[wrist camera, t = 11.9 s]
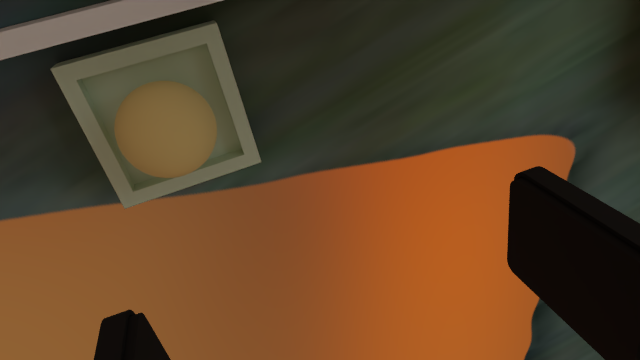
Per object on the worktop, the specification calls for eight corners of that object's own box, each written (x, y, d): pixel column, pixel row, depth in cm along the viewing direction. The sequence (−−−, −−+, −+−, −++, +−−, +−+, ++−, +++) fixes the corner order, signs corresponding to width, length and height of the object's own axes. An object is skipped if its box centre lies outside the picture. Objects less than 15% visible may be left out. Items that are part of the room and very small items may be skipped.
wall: (289, -46, 28) (312, -49, 24) (294, -26, 29) (317, -25, 24) (-39, 38, 25) (-82, 53, 20) (-26, 59, 25) (-65, 77, 21)
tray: (214, 19, 28) (216, 22, 27) (256, 153, 33) (261, 162, 32) (56, 63, 27) (50, 68, 25) (126, 197, 31) (124, 208, 30)
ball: (195, 60, 28) (200, 81, 23) (224, 140, 31) (234, 175, 26) (103, 86, 27) (87, 114, 22) (142, 166, 30) (135, 208, 25)
